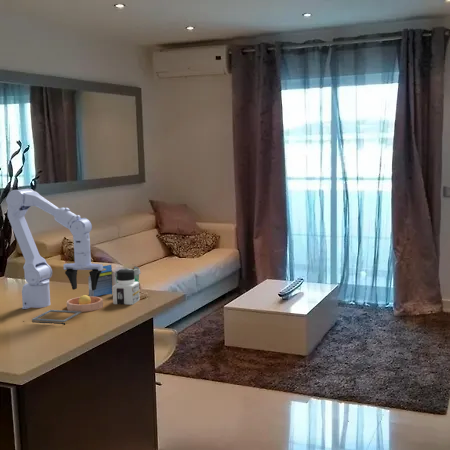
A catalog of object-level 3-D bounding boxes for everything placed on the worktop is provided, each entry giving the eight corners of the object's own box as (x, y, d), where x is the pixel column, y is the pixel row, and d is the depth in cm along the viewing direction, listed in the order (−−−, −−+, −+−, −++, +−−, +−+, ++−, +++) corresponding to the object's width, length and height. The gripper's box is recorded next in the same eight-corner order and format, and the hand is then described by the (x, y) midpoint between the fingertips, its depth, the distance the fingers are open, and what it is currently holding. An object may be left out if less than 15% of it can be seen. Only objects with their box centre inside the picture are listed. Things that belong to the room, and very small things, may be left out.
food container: (127, 298, 237) (126, 272, 236) (115, 296, 240) (114, 271, 239) (147, 291, 247) (146, 267, 246) (136, 290, 251) (135, 266, 249)
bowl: (60, 313, 217) (60, 304, 217) (77, 304, 229) (76, 295, 229) (93, 314, 214) (93, 305, 214) (108, 305, 226) (108, 297, 226)
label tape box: (107, 293, 246) (106, 263, 245) (113, 294, 243) (112, 264, 242) (88, 297, 240) (87, 266, 238) (94, 298, 237) (93, 267, 236)
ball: (76, 308, 220) (76, 296, 219) (82, 305, 224) (81, 293, 224) (87, 308, 219) (87, 296, 218) (93, 305, 223) (92, 293, 223)
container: (132, 306, 224) (131, 271, 222) (113, 306, 225) (111, 271, 224) (139, 301, 231) (138, 267, 230) (120, 300, 233) (119, 267, 231)
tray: (32, 322, 206) (32, 318, 205) (50, 313, 217) (50, 309, 217) (64, 324, 203) (64, 320, 203) (81, 314, 214) (81, 311, 214)
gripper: (58, 253, 217) (60, 291, 219) (96, 254, 213) (98, 292, 215) (68, 250, 224) (70, 286, 225) (104, 251, 220) (106, 288, 222)
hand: (84, 289), depth 221 cm, fingers open, 7 cm apart
